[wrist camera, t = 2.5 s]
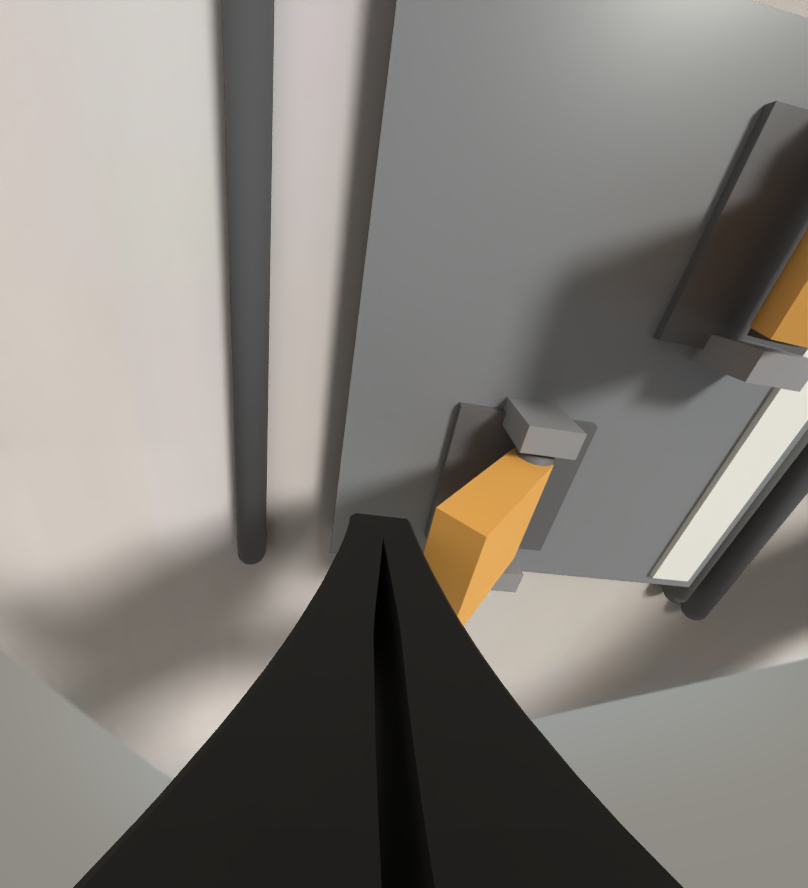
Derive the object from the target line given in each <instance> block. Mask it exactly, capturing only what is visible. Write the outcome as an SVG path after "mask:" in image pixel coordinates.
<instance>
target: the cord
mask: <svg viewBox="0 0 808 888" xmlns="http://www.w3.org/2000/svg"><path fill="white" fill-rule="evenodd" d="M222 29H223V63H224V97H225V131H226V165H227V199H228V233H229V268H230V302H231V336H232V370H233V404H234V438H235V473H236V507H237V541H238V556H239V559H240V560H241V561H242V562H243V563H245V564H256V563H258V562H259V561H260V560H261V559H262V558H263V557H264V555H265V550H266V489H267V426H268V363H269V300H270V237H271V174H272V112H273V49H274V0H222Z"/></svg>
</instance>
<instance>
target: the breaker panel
mask: <svg viewBox="0 0 808 888" xmlns="http://www.w3.org/2000/svg"><path fill="white" fill-rule="evenodd" d="M807 228H808V18H806V17H802V16H799V15H796V14H793V13H790V12H787V11H784V10H781V9H778V8H775V7H772V6H769V5H766V4H763V3H760V2H757V1H754V0H397V2H396V10H395V19H394V27H393V35H392V43H391V52H390V60H389V68H388V76H387V85H386V93H385V101H384V109H383V118H382V126H381V134H380V142H379V151H378V159H377V167H376V175H375V184H374V192H373V200H372V208H371V217H370V225H369V233H368V241H367V250H366V258H365V266H364V274H363V283H362V291H361V299H360V308H359V316H358V324H357V332H356V341H355V349H354V357H353V365H352V374H351V382H350V390H349V398H348V407H347V415H346V423H345V431H344V440H343V448H342V456H341V464H340V473H339V481H338V489H337V497H336V506H335V514H334V522H333V530H332V539H331V547H330V553H338V551H339V548H340V546H341V544H342V542H343V539H344V537H345V534H346V531H347V528H348V524H349V520H350V516H351V515H353V514H355V513H360V514H369V515H378V516H387V517H396V518H405V519H408V521H409V522H410V523H411V526H412V529H413V531H414V533H415V536H416V538H417V540H418V543H419V545H420V547H421V549H422V551H423V554H424V550H425V546H426V543H427V539H428V536H429V532H430V528H431V525H432V521H433V517H434V514H435V510H436V507H437V506H439V505H440V504H441V503H443V502H444V501H445V500H447V499H448V498H449V497H450V496H452V495H453V494H454V493H456V492H457V491H458V490H460V489H461V488H462V487H464V486H465V485H466V484H467V483H469V482H470V481H471V480H473V479H474V478H475V477H477V476H478V475H479V474H481V473H482V472H483V471H484V470H486V469H487V468H488V467H490V466H491V465H492V464H494V463H495V462H496V461H498V460H499V459H500V458H501V457H503V456H504V455H505V454H507V453H508V452H509V451H511V450H512V449H513V448H516V447H517V449H518V450H519V452H520V453H527V454H535V455H542V456H549V457H555V459H554V462H553V465H554V466H553V468H552V471H551V473H550V475H549V478H548V480H547V482H546V485H545V487H544V489H543V492H542V494H541V496H540V499H539V501H538V503H537V506H536V508H535V510H534V513H533V515H532V517H531V520H530V522H529V524H528V527H527V529H526V532H525V534H524V536H523V539H522V541H521V543H520V546H519V548H518V550H517V553H516V555H515V557H514V559H513V560H512V562H511V563H510V564H509V566H508V567H507V568H506V570H505V571H504V572H503V574H502V575H501V576H500V578H499V579H498V580H497V582H496V583H495V584H494V586H493V587H492V588H491V590H495V591H506V592H516V590H517V588H518V586H519V583H520V581H521V579H522V577H523V574H522V571H526V572H537V573H547V574H557V575H568V576H578V577H589V578H599V579H609V580H620V581H630V582H641V583H651V584H661V585H672V586H682V587H689V586H690V585H691V584H692V582H693V581H694V580H695V578H696V577H697V576H698V574H699V573H700V572H701V570H702V569H703V568H704V566H705V565H706V564H707V562H708V561H709V560H710V558H711V557H712V556H713V554H714V553H715V552H716V550H717V549H718V548H719V546H720V545H721V544H722V542H723V541H724V540H725V538H726V537H727V536H728V534H729V533H730V532H731V530H732V529H733V528H734V526H735V525H736V524H737V522H738V521H739V520H740V518H741V517H742V516H743V514H744V513H745V512H746V510H747V509H748V508H749V506H750V505H751V504H752V502H753V501H754V500H755V498H756V497H757V496H758V494H759V493H760V492H761V490H762V489H763V488H764V486H765V485H766V484H767V482H768V481H769V480H770V478H771V477H772V476H773V474H774V473H775V472H776V470H777V469H778V468H779V466H780V465H781V464H782V462H783V461H784V460H785V458H786V457H787V456H788V454H789V453H790V452H791V450H792V449H793V448H794V446H795V445H796V444H797V442H798V441H799V440H800V438H801V437H802V436H803V434H804V433H805V432H806V430H807V429H808V348H806V347H802V346H801V347H794V346H789V345H784V344H779V343H775V342H771V341H767V340H763V339H759V338H755V337H751V336H748V335H747V334H748V332H749V330H750V329H751V328H750V327H749V326H750V324H751V323H752V321H753V319H754V318H755V316H756V314H757V312H758V311H759V309H760V307H761V306H762V304H763V302H764V301H765V299H766V297H767V296H768V294H769V292H770V290H771V289H772V287H773V285H774V284H775V282H776V280H777V279H778V277H779V275H780V273H781V272H782V270H783V268H784V267H785V265H786V263H787V262H788V260H789V258H790V256H791V255H792V253H793V251H794V250H795V248H796V246H797V245H798V243H799V241H800V240H801V238H802V236H803V234H804V233H805V231H806V229H807Z"/></svg>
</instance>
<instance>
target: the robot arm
mask: <svg viewBox="0 0 808 888" xmlns="http://www.w3.org/2000/svg"><path fill="white" fill-rule="evenodd" d="M73 888H683V887H682V886H681V885H680V884H679V883H678V882H677V881H676V880H675V879H674V878H673V877H672V876H671V875H670V874H669V873H668V872H667V871H666V870H665V869H664V868H663V867H662V866H661V865H660V864H659V863H658V862H657V861H656V859H655V858H654V857H652V856H651V854H650V853H649V852H648V851H646V849H645V848H644V847H643V846H642V845H641V844H640V843H639V842H638V841H637V840H636V839H635V838H634V837H633V836H632V835H631V834H630V833H629V832H628V831H627V830H626V829H625V828H624V827H623V826H622V825H621V824H620V823H619V821H618V820H617V819H616V818H615V817H614V816H613V815H612V814H611V813H610V811H609V810H608V809H607V808H606V807H605V806H604V805H603V804H602V803H601V802H600V800H599V799H598V798H597V797H596V796H595V795H594V794H593V793H592V792H591V790H590V789H589V788H588V787H587V786H586V785H585V784H584V783H583V782H582V781H581V780H580V778H579V777H578V776H577V775H576V774H575V773H574V771H573V770H572V769H571V768H570V767H569V765H568V764H567V763H566V762H565V761H564V759H563V758H562V757H561V756H560V755H559V753H558V752H557V751H556V750H555V749H554V747H553V746H552V745H551V744H550V743H549V741H548V740H547V739H546V738H545V737H544V736H543V734H542V733H541V732H540V731H539V730H538V728H537V727H536V726H535V725H534V724H533V722H532V721H531V720H530V719H529V718H528V716H527V715H526V714H525V713H524V711H523V710H522V709H521V707H520V706H519V705H518V703H517V702H516V701H515V700H514V698H513V697H512V696H511V694H510V693H509V692H508V690H507V689H506V688H505V686H504V685H503V684H502V682H501V681H500V680H499V678H498V677H497V675H496V674H495V673H494V671H493V670H492V668H491V667H490V666H489V664H488V663H487V661H486V660H485V659H484V657H483V656H482V654H481V653H480V651H479V650H478V648H477V647H476V645H475V644H474V642H473V641H472V639H471V637H470V636H469V634H468V633H467V631H466V630H465V628H464V626H463V625H462V623H461V621H460V620H459V618H458V617H457V615H456V613H455V612H454V610H453V608H452V606H451V605H450V603H449V601H448V600H447V598H446V596H445V594H444V592H443V590H442V589H441V587H440V585H439V583H438V581H437V579H436V578H435V576H434V574H433V572H432V570H431V568H430V566H429V564H428V562H427V560H426V558H425V556H424V554H423V551H422V549H421V547H420V545H419V543H418V540H417V538H416V536H415V533H414V531H413V529H412V526H411V523H410V522H409V521H408V519H405V518H396V517H387V516H378V515H369V514H360V513H355V514H353V515H351V516H350V520H349V524H348V528H347V531H346V534H345V537H344V539H343V542H342V544H341V546H340V548H339V551H338V553H337V555H336V557H335V559H334V561H333V563H332V565H331V567H330V568H329V570H328V572H327V574H326V576H325V578H324V580H323V582H322V584H321V585H320V587H319V589H318V590H317V592H316V594H315V595H314V597H313V598H312V600H311V602H310V603H309V605H308V607H307V608H306V610H305V612H304V613H303V615H302V616H301V618H300V620H299V621H298V623H297V624H296V626H295V627H294V629H293V630H292V632H291V633H290V634H289V636H288V637H287V639H286V640H285V642H284V643H283V645H282V646H281V647H280V649H279V650H278V652H277V653H276V654H275V656H274V657H273V658H272V660H271V661H270V663H269V664H268V665H267V667H266V668H265V669H264V671H263V672H262V673H261V675H260V676H259V677H258V678H257V680H256V681H255V682H254V684H253V685H252V686H251V687H250V689H249V690H248V691H247V693H246V694H245V695H244V696H243V698H242V699H241V700H240V702H239V703H238V704H237V705H236V707H235V708H234V709H233V710H232V712H231V713H230V714H229V715H228V717H227V718H226V719H225V720H224V721H223V723H222V724H221V725H220V726H219V727H218V729H217V730H216V731H215V732H214V733H213V734H212V736H211V737H210V738H209V739H208V740H207V741H206V743H205V744H204V745H203V746H202V747H201V748H200V749H199V751H198V752H197V753H196V754H195V755H194V756H193V758H192V759H191V760H190V761H189V762H188V763H187V764H186V766H185V767H184V768H183V769H182V770H181V771H180V772H179V774H178V775H177V776H176V777H175V778H174V779H173V781H172V782H171V783H170V784H169V785H168V786H167V787H166V789H165V790H164V791H163V792H162V793H161V795H159V797H158V798H157V799H156V800H155V801H154V802H153V803H152V804H151V805H150V806H149V808H148V809H147V810H146V811H145V812H144V813H143V814H142V815H141V816H140V817H139V818H138V820H137V821H136V822H135V823H134V824H133V825H132V826H131V827H130V828H129V829H128V830H127V831H126V832H125V833H124V834H123V835H122V837H121V838H120V839H119V840H118V841H117V842H116V843H115V844H114V845H113V846H112V847H111V848H110V849H109V850H108V851H107V852H106V853H105V855H103V857H102V858H101V859H100V860H99V861H98V862H97V863H96V864H95V865H94V866H93V867H92V868H91V869H90V870H89V871H88V872H87V873H86V875H85V876H84V877H83V878H82V879H81V880H80V881H79V882H78V883H77V884H76V885H75V886H74V887H73Z"/></svg>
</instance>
